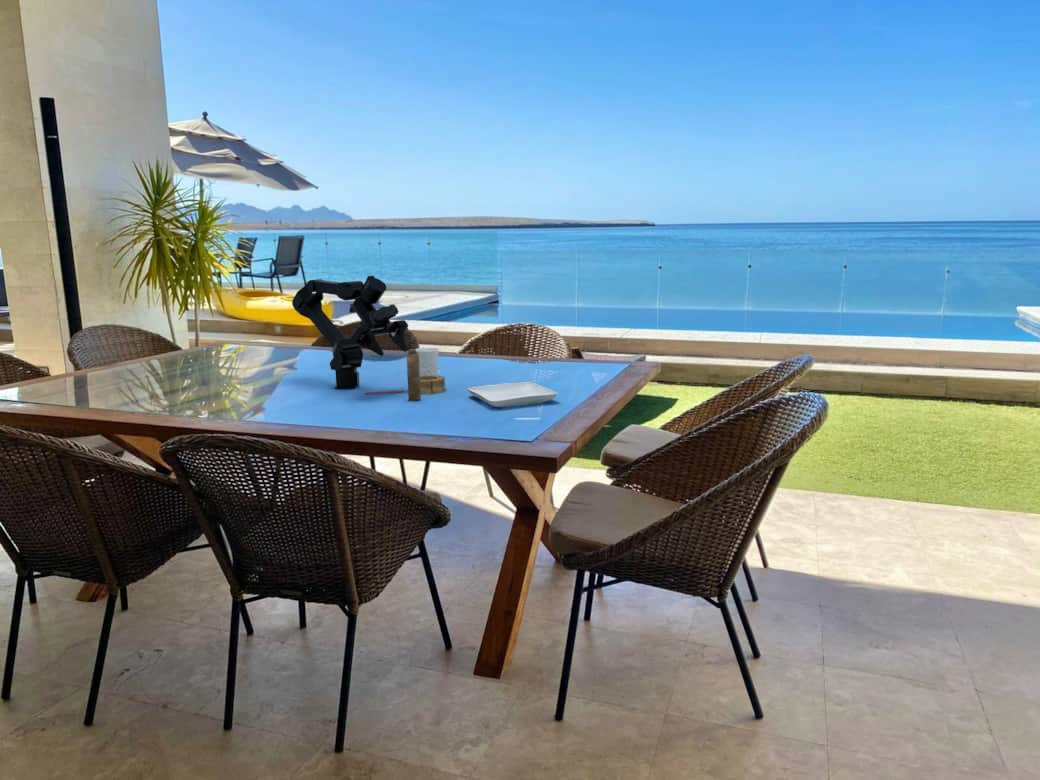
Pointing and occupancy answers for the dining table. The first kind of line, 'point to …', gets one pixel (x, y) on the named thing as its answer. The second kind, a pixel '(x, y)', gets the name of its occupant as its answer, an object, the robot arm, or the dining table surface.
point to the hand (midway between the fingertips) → (394, 353)
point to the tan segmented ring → (432, 384)
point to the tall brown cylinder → (413, 375)
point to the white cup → (428, 361)
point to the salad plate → (513, 394)
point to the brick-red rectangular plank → (385, 391)
